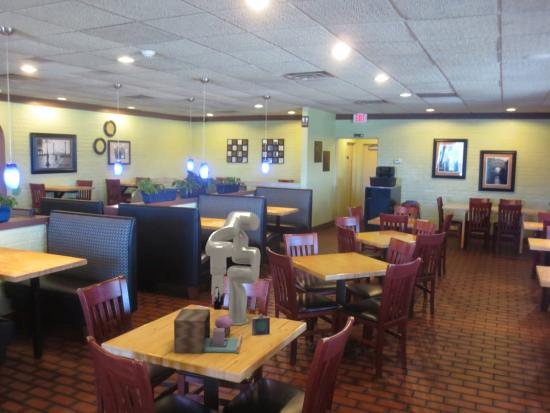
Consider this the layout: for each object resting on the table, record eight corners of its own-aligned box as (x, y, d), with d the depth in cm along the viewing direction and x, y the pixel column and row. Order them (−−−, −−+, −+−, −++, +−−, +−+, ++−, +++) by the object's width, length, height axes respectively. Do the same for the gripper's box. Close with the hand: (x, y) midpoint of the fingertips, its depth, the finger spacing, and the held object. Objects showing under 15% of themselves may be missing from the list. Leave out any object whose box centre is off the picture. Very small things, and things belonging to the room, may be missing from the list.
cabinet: (174, 352, 218) (173, 320, 217) (182, 339, 235) (182, 308, 234) (204, 353, 218) (204, 320, 217) (210, 339, 235) (210, 309, 234)
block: (214, 341, 229) (214, 327, 228) (224, 341, 229) (224, 327, 228) (212, 345, 224) (212, 331, 223) (223, 345, 224) (223, 331, 223)
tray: (200, 352, 218) (200, 346, 218) (206, 338, 235) (206, 332, 235) (238, 353, 218) (238, 346, 217) (242, 339, 235) (242, 333, 234)
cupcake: (235, 333, 244) (235, 314, 243) (227, 339, 236) (227, 319, 235) (219, 331, 247) (219, 312, 246) (212, 336, 239) (212, 317, 238)
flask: (252, 335, 241) (252, 315, 240) (251, 333, 243) (251, 313, 242) (270, 334, 243) (270, 314, 242) (269, 332, 245) (269, 312, 244)
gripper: (213, 266, 231) (213, 301, 233) (207, 274, 214) (207, 313, 216) (228, 266, 231) (228, 302, 233) (223, 274, 214) (224, 313, 216)
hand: (218, 306), depth 225 cm, fingers open, 5 cm apart
